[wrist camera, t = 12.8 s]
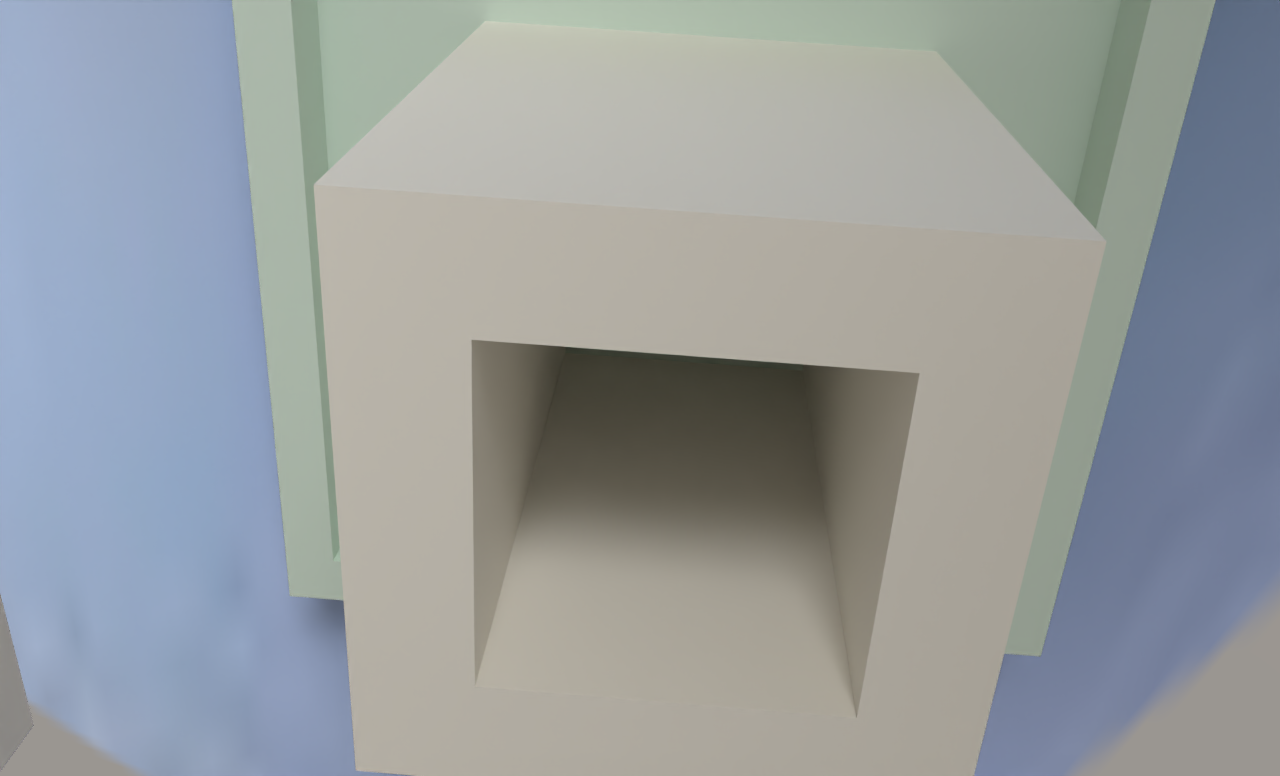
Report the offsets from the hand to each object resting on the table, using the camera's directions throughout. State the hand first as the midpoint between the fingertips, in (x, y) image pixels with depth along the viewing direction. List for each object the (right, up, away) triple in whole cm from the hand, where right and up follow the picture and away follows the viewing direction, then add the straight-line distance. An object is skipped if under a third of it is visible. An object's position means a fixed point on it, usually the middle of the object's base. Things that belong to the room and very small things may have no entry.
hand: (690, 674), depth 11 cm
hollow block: (+1, +5, +12) cm, 13 cm away
